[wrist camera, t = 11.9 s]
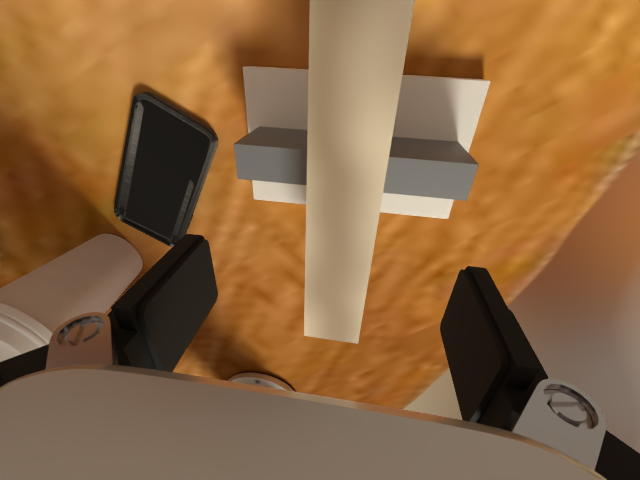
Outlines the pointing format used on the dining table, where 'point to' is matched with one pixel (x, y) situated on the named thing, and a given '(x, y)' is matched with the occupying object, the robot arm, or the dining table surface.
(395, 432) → the robot arm
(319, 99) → the beam
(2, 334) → the coffee cup
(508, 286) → the dining table surface
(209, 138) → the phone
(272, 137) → the ridge stand
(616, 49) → the dining table surface
